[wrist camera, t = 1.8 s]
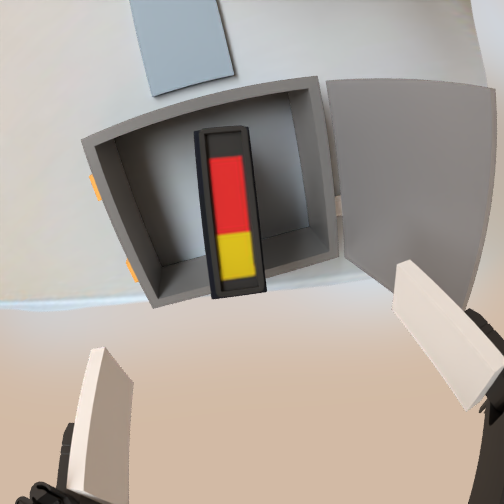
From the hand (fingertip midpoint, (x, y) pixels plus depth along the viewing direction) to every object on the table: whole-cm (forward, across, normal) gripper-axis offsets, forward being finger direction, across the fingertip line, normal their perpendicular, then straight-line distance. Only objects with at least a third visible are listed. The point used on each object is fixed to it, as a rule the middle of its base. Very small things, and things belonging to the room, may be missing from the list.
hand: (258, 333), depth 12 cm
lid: (+7, +12, 0) cm, 14 cm away
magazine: (+21, 0, 0) cm, 21 cm away
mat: (+21, 0, +18) cm, 28 cm away
